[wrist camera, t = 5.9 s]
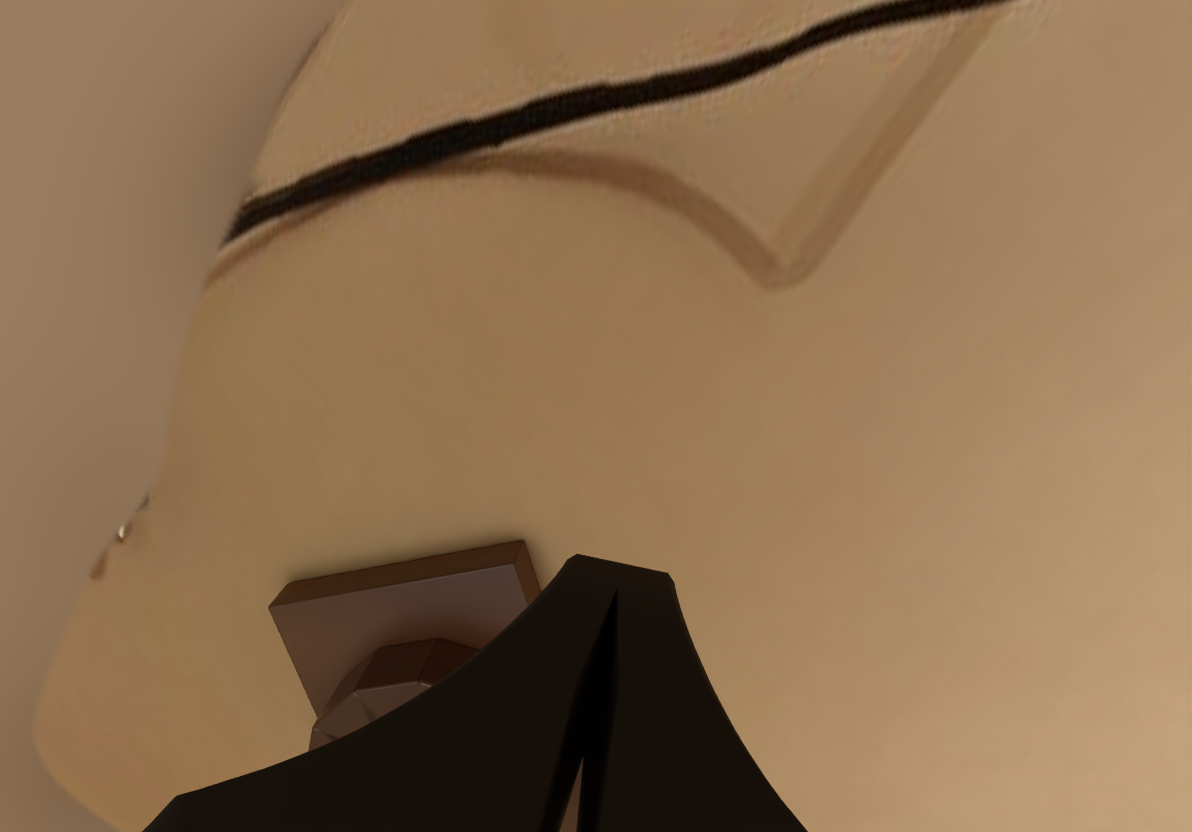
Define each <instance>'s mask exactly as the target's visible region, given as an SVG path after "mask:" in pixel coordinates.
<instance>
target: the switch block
mask: <svg viewBox="0 0 1192 832" xmlns="http://www.w3.org/2000/svg"><path fill="white" fill-rule="evenodd" d="M540 593H541V591H540V588H539V585H538V582H537V579H536V576H535V573H534V570H533V567H532V564H531V561H530V558H529V555H528V552H527V549H526V546H525V543H524V541H518V542H512V543H507V544H502V545H496V546H491V547H485V548H480V549H474V550H469V551H463V552H458V553H452V554H447V555H442V556H436V557H431V558H425V559H420V560H414V561H409V562H403V563H398V564H393V565H387V566H382V567H376V568H371V569H365V570H360V571H354V572H349V573H344V574H338V575H333V576H327V577H322V578H316V579H311V580H305V581H300V582H294V583H289V584H287V585H286V586H285V587H284V588H283V590H282V591H281V592H280V593H279V594H278V596H277V597H276V598H275V599H274V600H273V602H272V603H271V604H270V605H269V607H268V608H269V611H270V613H271V615H272V617H273V620H274V622H275V624H276V626H277V629H278V631H279V633H280V635H281V638H282V640H283V642H284V644H285V646H286V649H287V651H288V653H289V655H290V658H291V660H292V662H293V664H294V667H295V669H296V671H297V673H298V675H299V678H300V680H301V682H302V684H303V687H304V689H305V691H306V693H307V696H308V698H309V700H310V702H311V704H312V707H313V709H314V711H315V713H316V716H317V718H318V719H317V721H316V722H315V724H314V726H313V727H312V733H311V739H310V745H309V750H308V752H309V751H311V750H314V749H316V748H318V747H321V746H323V745H325V744H328V743H330V742H332V741H334V740H336V739H339V738H341V737H343V736H345V735H348V734H350V733H352V732H354V731H356V730H358V729H360V728H361V727H363V726H365V725H367V724H369V723H371V722H373V721H375V720H376V719H378V718H380V717H382V716H383V715H385V714H387V713H388V712H390V711H392V710H394V709H395V708H397V707H399V706H401V705H402V704H404V703H406V702H407V701H409V700H411V699H412V698H414V697H416V696H417V695H419V694H420V693H422V692H423V691H425V690H426V689H428V688H429V687H431V686H432V685H434V684H435V683H437V682H438V681H440V680H441V679H443V678H444V677H445V676H447V675H448V674H450V673H451V672H452V671H454V670H455V669H456V668H458V667H459V666H460V665H462V664H463V663H464V662H466V661H467V660H468V659H469V658H471V657H472V656H473V655H474V654H475V653H477V652H478V651H479V650H480V649H481V648H483V647H484V646H485V645H486V644H487V643H489V642H490V641H491V640H492V639H493V638H495V637H496V636H497V635H498V634H499V633H500V632H502V631H503V630H504V629H505V628H506V627H507V626H508V625H509V624H510V623H511V622H512V621H513V620H514V619H515V618H516V617H517V616H518V615H519V614H520V613H522V612H523V611H524V610H525V609H526V608H527V607H528V606H529V605H530V604H531V603H532V602H533V601H534V600H535V599H536V598H537V596H538V595H539V594H540ZM582 765H583V759H582V762H581V765H580V768H579V772H578V775H577V778H576V781H575V784H574V788H573V791H572V794H571V797H570V800H569V803H568V807H567V810H566V813H565V816H564V819H563V822H562V826H561V829H560V832H576V828H577V817H578V807H579V796H580V786H581V775H582Z"/></svg>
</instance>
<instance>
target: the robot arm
mask: <svg viewBox="0 0 1192 832" xmlns="http://www.w3.org/2000/svg"><path fill="white" fill-rule="evenodd" d="M582 759H583V765H582V775H581V786H580V796H579V807H578V817H577V828H576V832H808V831H807V830H806V829H805V828H804V826H803V825H802V824H801V823H800V822H799V820H798V819H797V818H796V817H795V816H794V814H793V813H792V812H791V811H790V809H789V808H788V807H787V806H786V805H785V803H784V802H783V801H782V800H781V798H780V797H779V796H778V794H777V793H776V792H775V790H774V789H773V787H772V786H771V785H770V783H769V782H768V781H767V779H766V778H765V776H764V775H763V773H762V772H761V770H760V769H759V767H758V766H757V764H756V763H755V761H754V760H753V758H752V757H751V755H750V754H749V752H748V750H747V749H746V747H745V745H744V744H743V742H742V740H741V739H740V737H739V735H738V734H737V732H736V730H735V729H734V727H733V725H732V723H731V721H730V720H729V718H728V716H727V714H726V712H725V710H724V708H723V707H722V705H721V703H720V701H719V699H718V697H717V695H716V693H715V691H714V689H713V687H712V685H711V683H710V681H709V679H708V676H707V674H706V672H705V670H704V667H703V665H702V663H701V661H700V658H699V656H698V654H697V651H696V649H695V647H694V644H693V642H692V639H691V637H690V634H689V631H688V629H687V626H686V623H685V620H684V617H683V614H682V611H681V608H680V605H679V601H678V598H677V594H676V589H675V584H674V581H673V580H672V578H671V577H670V575H669V574H668V573H665V572H661V571H656V570H651V569H646V568H642V567H637V566H632V565H628V564H623V563H618V562H613V561H609V560H604V559H599V558H594V557H590V556H585V555H580V554H576V555H574V556H573V557H571V558H569V559H567V561H566V562H565V564H564V565H563V567H562V568H561V570H560V571H559V572H558V573H557V575H556V576H555V577H554V578H553V580H552V581H551V582H550V583H549V584H548V585H547V587H546V588H545V589H544V590H543V591H542V592H541V593H540V594H539V595H538V596H537V598H536V599H535V600H534V601H533V602H532V603H531V604H530V605H529V606H528V607H527V608H526V609H525V610H524V611H523V612H522V613H520V614H519V615H518V616H517V617H516V618H515V619H514V620H513V621H512V622H511V623H510V624H509V625H508V626H507V627H506V628H505V629H504V630H503V631H502V632H500V633H499V634H498V635H497V636H496V637H495V638H493V639H492V640H491V641H490V642H489V643H487V644H486V645H485V646H484V647H483V648H481V649H480V650H479V651H478V652H477V653H475V654H474V655H473V656H472V657H471V658H469V659H468V660H467V661H466V662H464V663H463V664H462V665H460V666H459V667H458V668H456V669H455V670H454V671H452V672H451V673H450V674H448V675H447V676H445V677H444V678H443V679H441V680H440V681H438V682H437V683H435V684H434V685H432V686H431V687H429V688H428V689H426V690H425V691H423V692H422V693H420V694H419V695H417V696H416V697H414V698H412V699H411V700H409V701H407V702H406V703H404V704H402V705H401V706H399V707H397V708H395V709H394V710H392V711H390V712H388V713H387V714H385V715H383V716H382V717H380V718H378V719H376V720H375V721H373V722H371V723H369V724H367V725H365V726H363V727H361V728H360V729H358V730H356V731H354V732H352V733H350V734H348V735H345V736H343V737H341V738H339V739H336V740H334V741H332V742H330V743H328V744H325V745H323V746H321V747H318V748H316V749H314V750H311V751H309V752H306V753H304V754H301V755H299V756H296V757H294V758H291V759H289V760H286V761H284V762H281V763H278V764H275V765H273V766H270V767H267V768H265V769H261V770H258V771H255V772H252V773H249V774H246V775H243V776H240V777H236V778H233V779H230V780H227V781H224V782H221V783H218V784H214V785H211V786H208V787H205V788H202V789H199V790H195V791H192V792H188V793H184V794H181V795H178V796H176V797H175V798H174V799H173V800H172V801H171V802H170V803H169V804H168V805H167V806H166V807H165V808H164V809H163V810H162V812H161V813H160V814H159V815H158V816H157V817H156V818H155V819H154V820H153V821H152V822H151V823H150V824H149V825H148V826H147V827H146V828H145V829H144V830H143V831H142V832H560V829H561V826H562V822H563V819H564V816H565V813H566V810H567V807H568V803H569V800H570V797H571V794H572V791H573V788H574V784H575V781H576V778H577V775H578V772H579V768H580V765H581V762H582Z"/></svg>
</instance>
